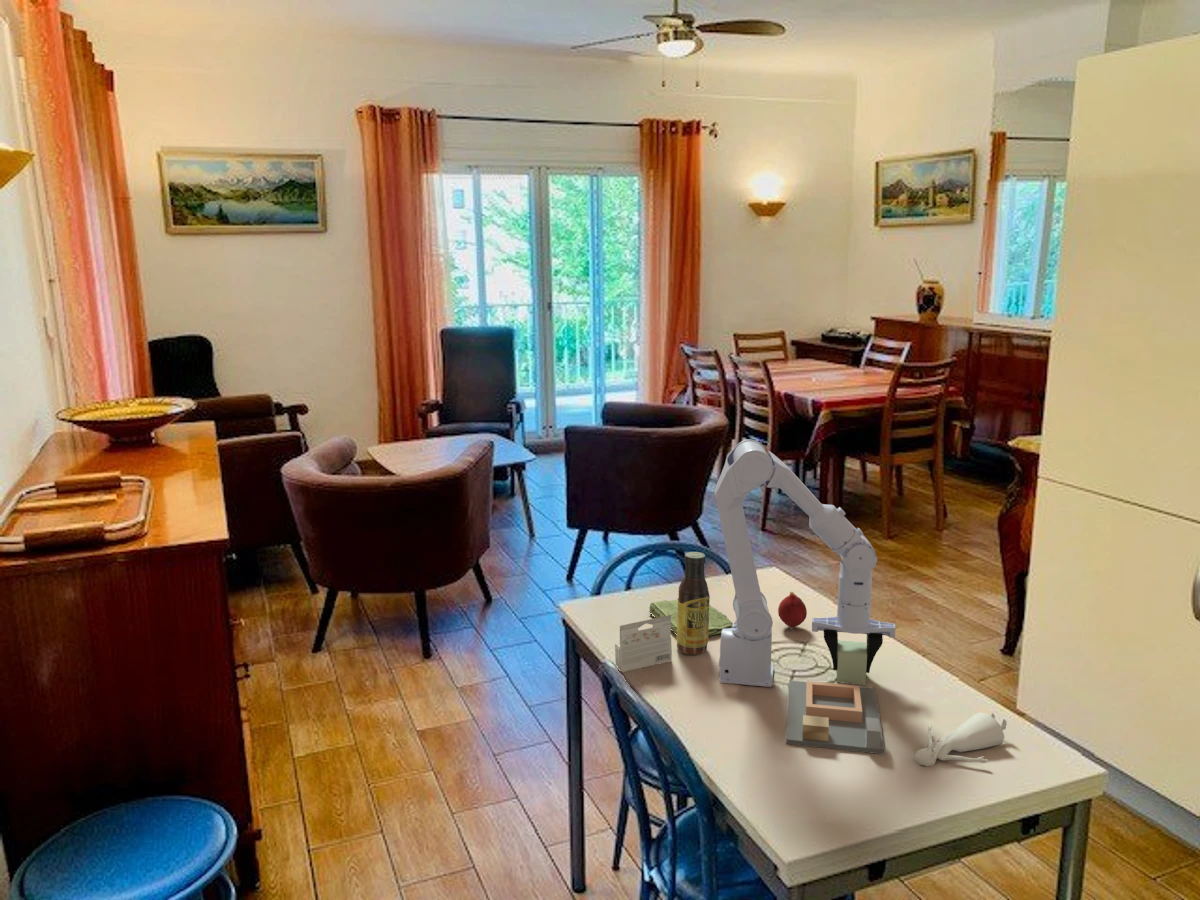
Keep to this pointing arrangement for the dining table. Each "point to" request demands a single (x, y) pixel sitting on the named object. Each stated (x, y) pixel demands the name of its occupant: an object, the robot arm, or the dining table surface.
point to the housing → (836, 715)
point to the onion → (792, 610)
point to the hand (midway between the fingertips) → (851, 669)
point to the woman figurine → (964, 740)
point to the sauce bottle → (693, 607)
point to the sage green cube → (851, 662)
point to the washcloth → (671, 608)
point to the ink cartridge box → (644, 644)
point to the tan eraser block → (815, 728)
